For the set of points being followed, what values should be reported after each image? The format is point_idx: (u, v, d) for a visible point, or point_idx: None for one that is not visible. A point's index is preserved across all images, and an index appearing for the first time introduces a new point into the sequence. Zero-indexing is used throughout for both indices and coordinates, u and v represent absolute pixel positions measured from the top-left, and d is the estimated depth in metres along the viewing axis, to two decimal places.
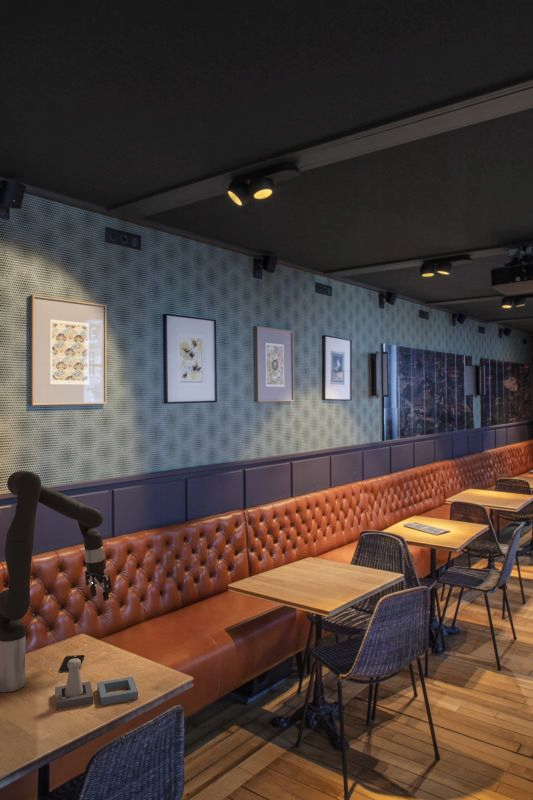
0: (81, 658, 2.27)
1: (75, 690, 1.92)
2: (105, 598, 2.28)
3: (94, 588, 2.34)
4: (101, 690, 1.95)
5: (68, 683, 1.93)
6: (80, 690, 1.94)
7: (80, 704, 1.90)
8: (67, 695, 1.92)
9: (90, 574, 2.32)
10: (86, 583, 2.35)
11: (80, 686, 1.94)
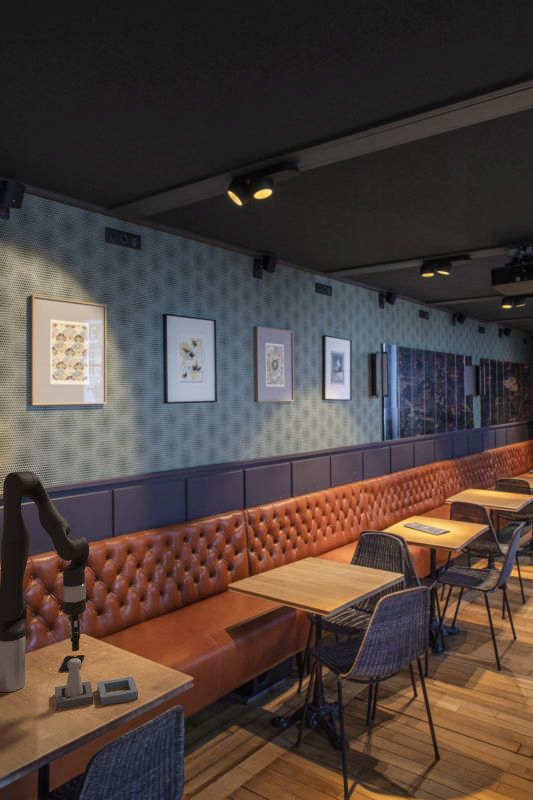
0: (81, 658, 2.27)
1: (75, 690, 1.92)
2: (73, 648, 1.90)
3: (75, 632, 1.99)
4: (101, 690, 1.95)
5: (68, 683, 1.93)
6: (80, 690, 1.94)
7: (80, 704, 1.90)
8: (67, 695, 1.92)
9: (70, 614, 1.98)
10: None
11: (80, 686, 1.94)
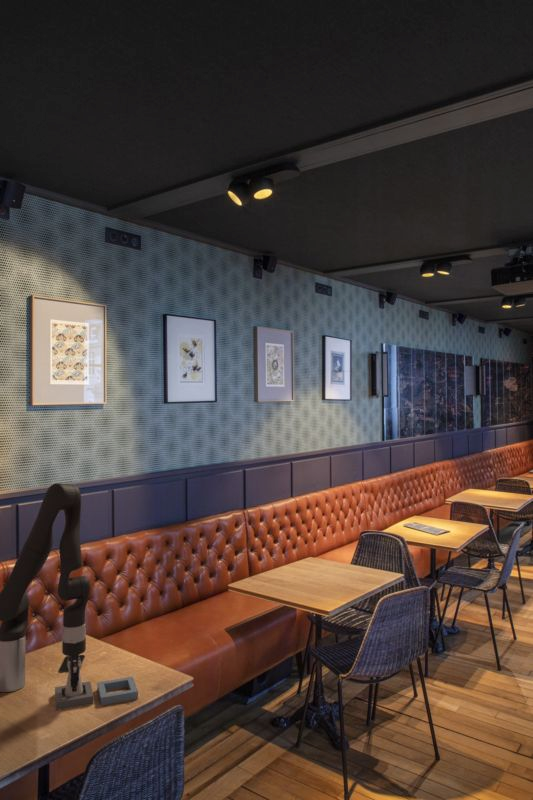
0: (81, 658, 2.27)
1: None
2: (72, 690, 1.92)
3: None
4: (101, 690, 1.95)
5: (68, 683, 1.93)
6: (80, 690, 1.94)
7: (80, 704, 1.90)
8: (67, 695, 1.92)
9: None
10: None
11: (80, 686, 1.94)
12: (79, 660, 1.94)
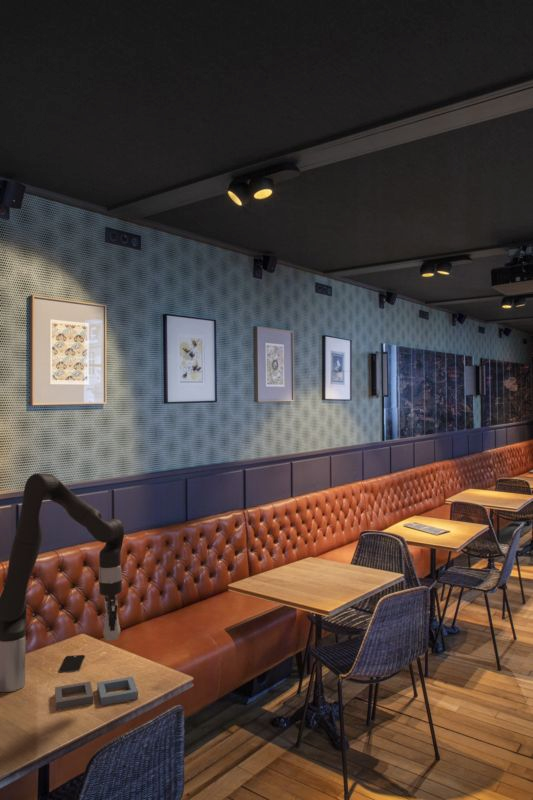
0: (81, 658, 2.27)
1: None
2: (110, 629, 1.96)
3: None
4: (101, 690, 1.95)
5: (106, 623, 1.96)
6: (118, 629, 1.97)
7: (80, 704, 1.90)
8: (105, 634, 1.96)
9: (106, 596, 2.01)
10: None
11: (118, 626, 1.98)
12: (116, 600, 1.97)
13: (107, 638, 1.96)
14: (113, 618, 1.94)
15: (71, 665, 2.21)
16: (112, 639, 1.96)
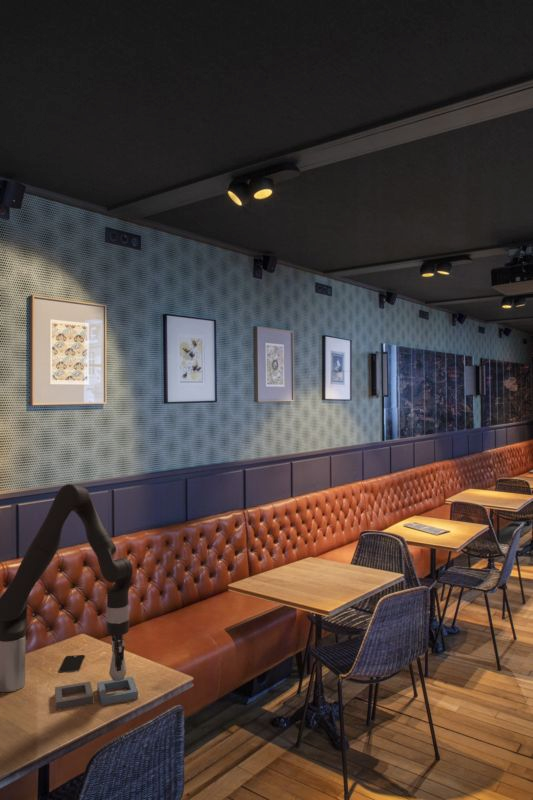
0: (81, 658, 2.27)
1: None
2: None
3: None
4: (101, 690, 1.95)
5: (113, 663, 1.97)
6: (124, 669, 1.97)
7: (80, 704, 1.90)
8: (112, 674, 1.96)
9: None
10: (112, 650, 2.02)
11: (124, 666, 1.98)
12: (123, 640, 1.98)
13: (113, 678, 1.96)
14: (120, 659, 1.94)
15: (71, 665, 2.21)
16: (118, 679, 1.96)
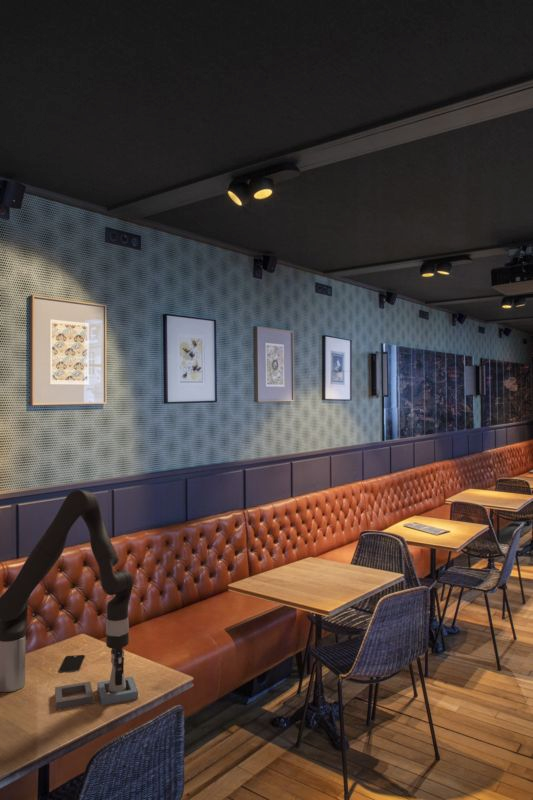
0: (81, 658, 2.27)
1: (119, 685, 1.96)
2: (116, 682, 1.94)
3: None
4: (101, 690, 1.95)
5: (112, 678, 1.96)
6: (124, 685, 1.97)
7: (80, 704, 1.90)
8: (111, 690, 1.95)
9: (113, 647, 2.01)
10: None
11: (123, 681, 1.97)
12: (123, 652, 1.97)
13: None
14: (120, 672, 1.93)
15: (71, 665, 2.21)
16: None
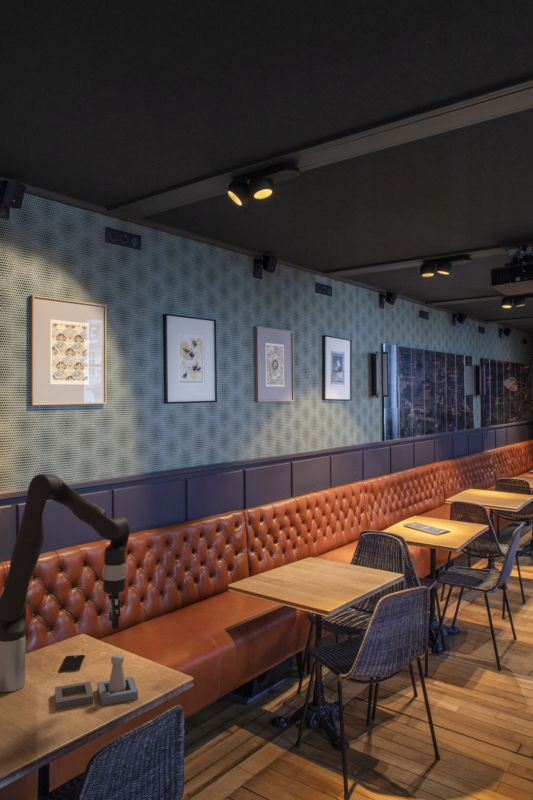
0: (81, 658, 2.27)
1: (119, 685, 1.96)
2: (113, 626, 1.94)
3: (114, 611, 2.03)
4: (101, 690, 1.95)
5: (112, 678, 1.96)
6: (124, 685, 1.97)
7: (80, 704, 1.90)
8: (111, 690, 1.95)
9: (110, 593, 2.02)
10: None
11: (123, 681, 1.97)
12: (119, 597, 1.98)
13: None
14: (117, 615, 1.93)
15: (71, 665, 2.21)
16: None
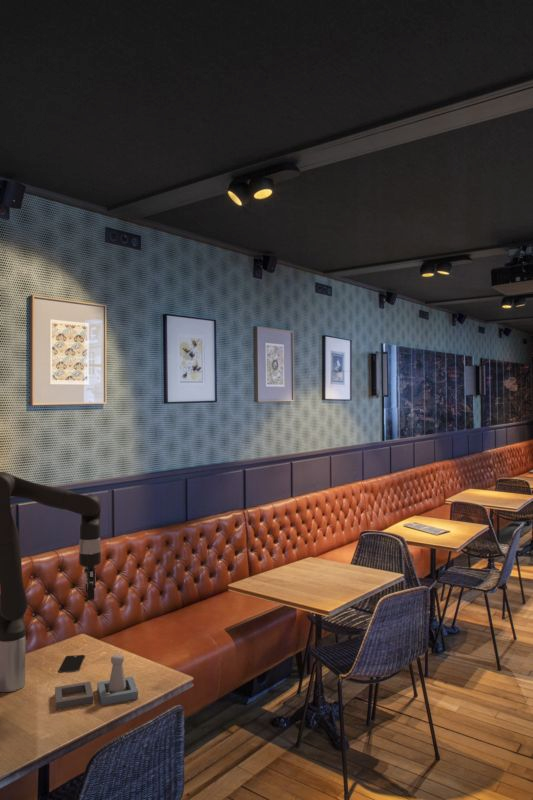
0: (81, 658, 2.27)
1: (119, 685, 1.96)
2: (89, 597, 2.04)
3: (90, 584, 2.13)
4: (101, 690, 1.95)
5: (112, 678, 1.96)
6: (124, 685, 1.97)
7: (80, 704, 1.90)
8: (111, 690, 1.95)
9: None
10: None
11: (123, 681, 1.97)
12: (95, 570, 2.08)
13: None
14: (92, 586, 2.03)
15: (71, 665, 2.21)
16: None
